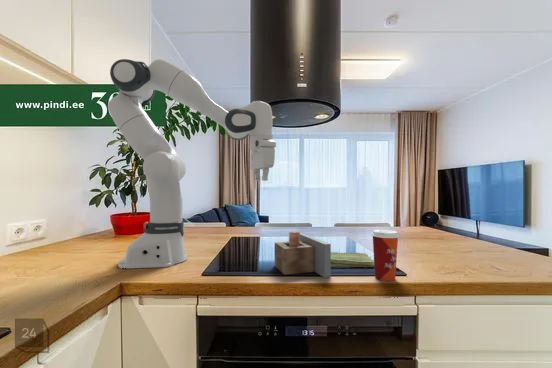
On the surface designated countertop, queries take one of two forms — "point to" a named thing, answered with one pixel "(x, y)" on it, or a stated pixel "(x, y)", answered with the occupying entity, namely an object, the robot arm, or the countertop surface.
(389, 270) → the paper cup
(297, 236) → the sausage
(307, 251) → the block
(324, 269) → the wall
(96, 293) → the countertop surface
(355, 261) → the washcloth
